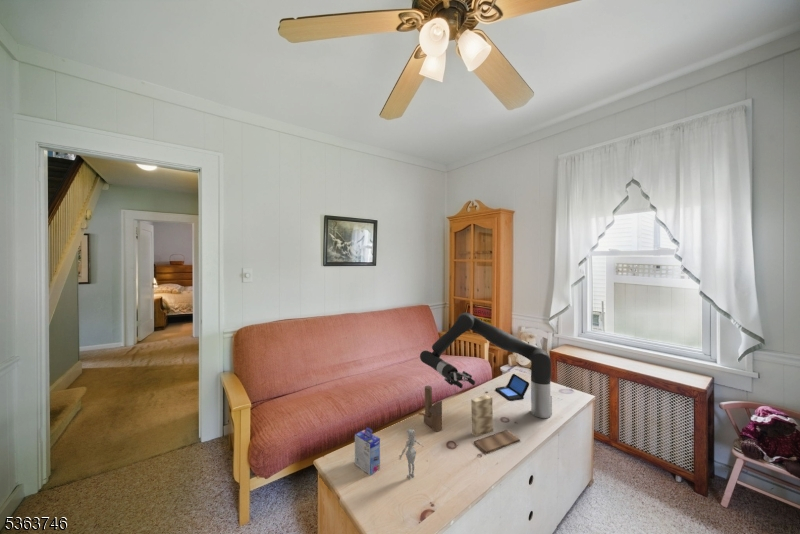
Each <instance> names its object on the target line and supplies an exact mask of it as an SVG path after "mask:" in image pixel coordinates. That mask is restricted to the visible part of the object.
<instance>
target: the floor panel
mask: <svg viewBox="0 0 800 534" xmlns="http://www.w3.org/2000/svg"><path fill="white" fill-rule="evenodd" d="M519 442H521V439H520V438H519V437H517V436H516V435H514V434H513V433H512V432H510V431H509V430H507V429H504V430H502V431H499V432H496V433H493V434H491V435H488V436H485V437H482V438H479V439H475V440H474V441H473V443H474V445H476V447H478V448H479V449H480V450H481V451H482V452H484V453H485V455H487V454H490V453H493V452H495V451H498V450H501V449H503V448H507V447H508V446H512V445H514V444H517V443H519Z"/></svg>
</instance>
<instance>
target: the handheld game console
mask: <svg viewBox="0 0 800 534" xmlns="http://www.w3.org/2000/svg"><path fill="white" fill-rule="evenodd" d="M529 387H530V382H528V381H527V380H526V379H523V378H522V377H520V376H519V375H517V374H515V373H513V374H512V375H511V377H510V379H509V381H508V382H507V384H506V386H498V387H495V391H496V392H497V393H498V394H500V395H502V396H503V397H504V398H506V399H507V400H508V401H511V402H512V401H516V400H517V401H518V400H524V398H525V394H526V392H527V390H528V388H529Z"/></svg>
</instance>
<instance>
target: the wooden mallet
mask: <svg viewBox="0 0 800 534" xmlns="http://www.w3.org/2000/svg"><path fill="white" fill-rule="evenodd" d="M423 422H424V423H425V424H426V425H427V426H429V427H430V428H432V430H434V431H435V432H440V431H443V401H442V400H440V401H435V403H434V404H433V388H432V386H431V385H426V386H424V414H423Z"/></svg>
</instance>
